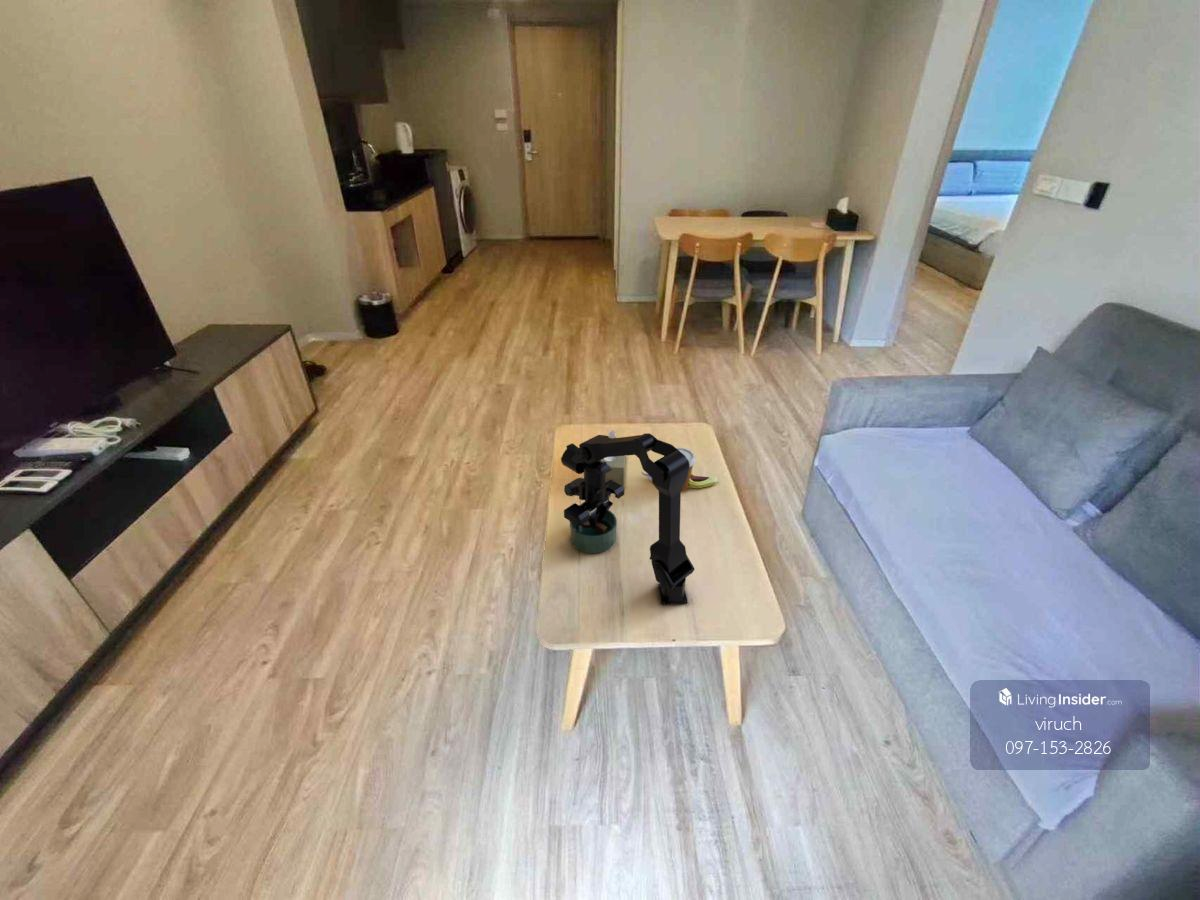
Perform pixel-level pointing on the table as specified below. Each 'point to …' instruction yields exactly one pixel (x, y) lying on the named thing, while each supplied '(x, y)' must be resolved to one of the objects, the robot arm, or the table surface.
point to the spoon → (596, 527)
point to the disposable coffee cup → (691, 459)
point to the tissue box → (615, 466)
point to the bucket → (595, 535)
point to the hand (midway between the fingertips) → (595, 525)
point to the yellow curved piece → (696, 480)
